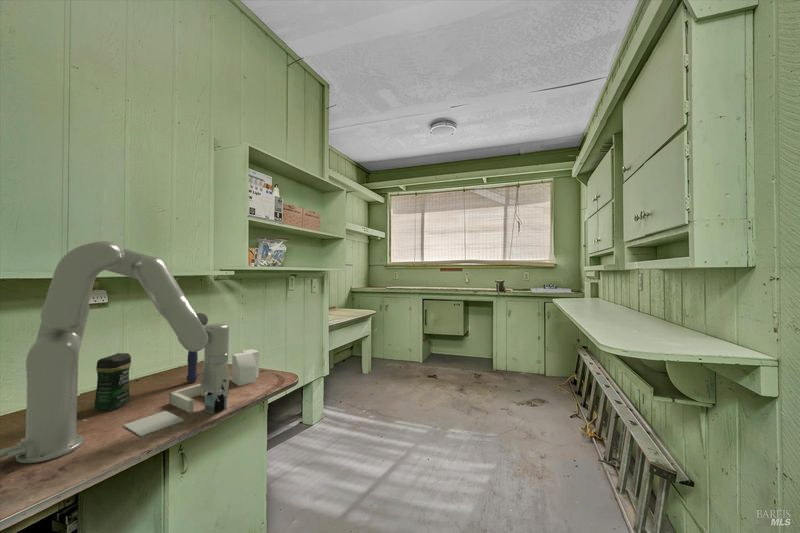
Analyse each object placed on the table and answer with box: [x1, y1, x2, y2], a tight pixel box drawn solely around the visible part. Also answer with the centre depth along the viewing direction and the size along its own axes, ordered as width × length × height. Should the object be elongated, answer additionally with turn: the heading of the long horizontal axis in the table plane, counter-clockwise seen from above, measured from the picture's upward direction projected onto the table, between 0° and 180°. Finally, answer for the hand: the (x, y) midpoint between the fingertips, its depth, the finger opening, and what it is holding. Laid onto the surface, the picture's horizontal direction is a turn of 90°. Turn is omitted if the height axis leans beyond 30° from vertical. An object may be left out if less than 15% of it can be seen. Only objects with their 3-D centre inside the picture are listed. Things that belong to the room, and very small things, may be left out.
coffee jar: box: [93, 352, 132, 412], centre depth 116 cm, size 10×8×19 cm
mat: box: [123, 410, 185, 438], centre depth 104 cm, size 12×12×1 cm
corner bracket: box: [230, 348, 260, 387], centre depth 146 cm, size 11×11×12 cm
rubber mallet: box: [186, 312, 209, 384], centre depth 141 cm, size 12×8×30 cm, turn 8°
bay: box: [168, 383, 222, 413], centre depth 121 cm, size 12×14×4 cm
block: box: [204, 393, 228, 414], centre depth 116 cm, size 5×5×5 cm
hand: (214, 408), depth 115 cm, fingers closed on block, 5 cm apart
